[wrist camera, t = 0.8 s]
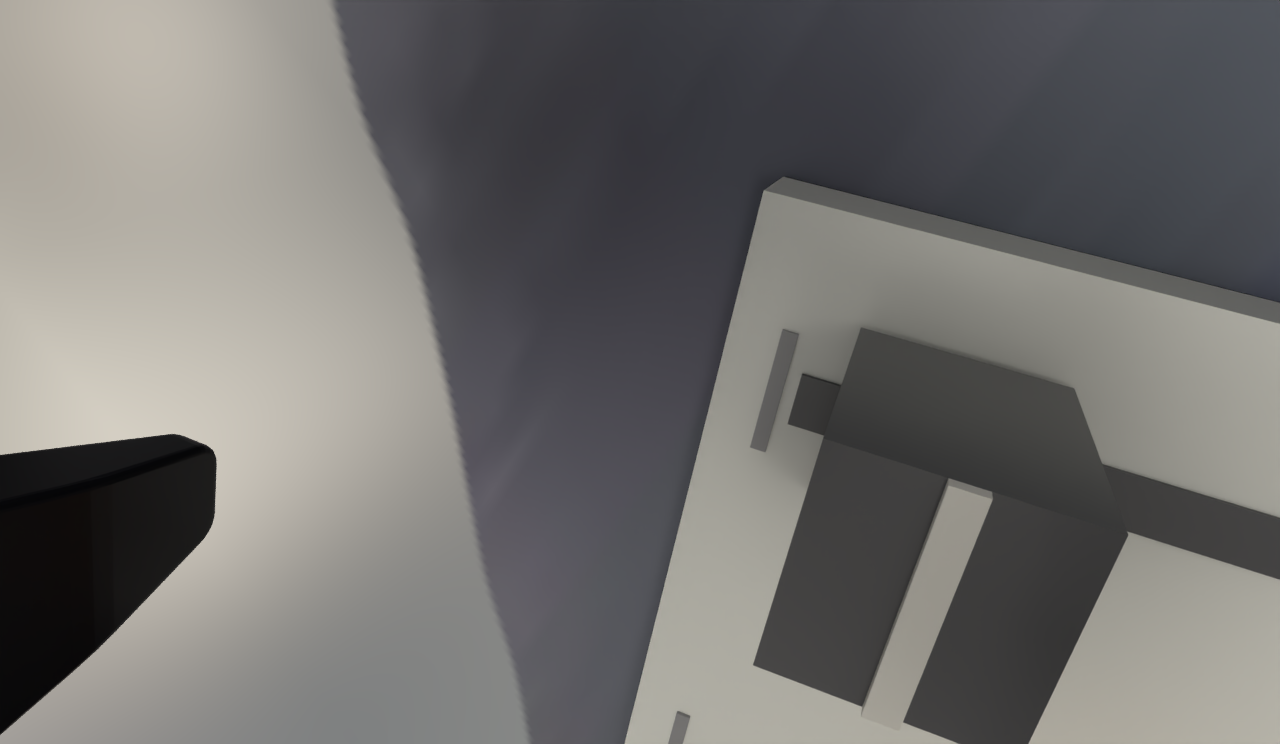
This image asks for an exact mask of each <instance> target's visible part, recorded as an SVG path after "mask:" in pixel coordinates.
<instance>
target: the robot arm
mask: <svg viewBox="0 0 1280 744" xmlns="http://www.w3.org/2000/svg"><path fill="white" fill-rule="evenodd" d="M215 489H216V457H215V454H214V452H213V450H212V449H211V448H209V447H208V446H207V445H204V444H202V443H199V442H197V441H194V440H192V439H189V438H187V437H185V436H181V435H176V434H168V435H160V436H152V437H144V438H136V439H127V440H119V441H111V442H104V443H95V444H86V445H80V446H79V445H78V446H70V447H62V448H54V449H46V450H38V451H30V452H21V453H13V454H5V455H0V735H1V734H2V733H3V732H4V731H5V730H6V729H7V728H9V727H10V726H11V725H12V724H13V723H14V722H16V721H17V720H18V719H19V718H20V717H21V716H23V715H24V714H25V713H26V712H27V711H28V710H29V709H31V708H32V707H33V706H34V705H35V704H36V703H37V702H39V701H40V700H41V699H42V698H43V697H44V696H46V695H47V694H48V693H49V692H50V691H51V690H52V689H54V688H55V687H56V686H57V685H58V684H59V683H60V682H62V681H63V680H64V679H65V678H66V677H67V676H69V675H70V674H71V673H72V672H73V671H74V670H75V669H76V668H77V667H79V666H80V665H81V664H82V663H83V662H84V661H85V660H86V659H87V658H88V657H90V656H91V655H92V654H93V653H94V652H95V651H96V650H97V649H98V648H99V647H100V646H101V645H102V644H103V643H104V642H105V641H106V640H107V639H108V638H109V637H110V636H111V635H112V634H113V633H114V632H115V631H116V630H117V629H118V628H119V627H120V626H121V625H122V624H123V623H124V622H125V621H126V620H127V619H128V618H129V617H130V616H131V615H132V613H134V611H135V610H136V609H137V608H138V607H139V606H140V605H141V604H142V603H143V602H144V601H145V600H146V599H147V598H148V597H149V596H150V595H151V594H152V593H153V592H154V591H155V590H156V589H157V587H158V586H159V585H160V584H161V583H162V582H163V581H164V580H165V579H166V578H167V577H168V576H169V575H170V574H171V573H172V572H173V571H174V570H175V568H177V567H178V565H179V564H180V563H181V562H182V561H183V560H184V559H185V558H186V557H187V556H188V555H189V554H190V553H191V552H192V551H193V550H194V549H195V548H196V546H198V545H199V544H200V542H201V541H202V540H203V539H204V538H205V536H206V535H207V533H208V532H209V530H210V528H211V525H212V523H213V519H214V514H215V491H216V490H215Z"/></svg>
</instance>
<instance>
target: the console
mask: <svg viewBox="0 0 1280 744" xmlns="http://www.w3.org/2000/svg"><path fill="white" fill-rule="evenodd" d="M861 327H862V328H865V329H869V330H872V331H876V332H879V333H883V334H886V335H890V336H893V337H897V338H900V339H904V340H907V341H911V342H914V343H918V344H921V345H925V346H928V347H932V348H935V349H939V350H942V351H946V352H949V353H953V354H956V355H960V356H963V357H967V358H970V359H974V360H977V361H981V362H984V363H988V364H991V365H995V366H998V367H1002V368H1005V369H1009V370H1012V371H1016V372H1019V373H1022V374H1026V375H1029V376H1033V377H1036V378H1040V379H1043V380H1047V381H1050V382H1054V383H1057V384H1061V385H1064V386H1068V387H1071V388H1074V389H1075V391H1076V394H1077V397H1078V399H1079V402H1080V405H1081V408H1082V410H1083V413H1084V416H1085V418H1086V421H1087V424H1088V427H1089V429H1090V432H1091V435H1092V437H1093V440H1094V443H1095V446H1096V448H1097V451H1098V454H1099V456H1100V459H1101V462H1102V465H1103V467H1104V470H1105V473H1106V475H1107V478H1108V481H1109V484H1110V486H1111V489H1112V492H1113V494H1114V497H1115V500H1116V503H1117V505H1118V508H1119V511H1120V513H1121V516H1122V519H1123V522H1124V524H1125V527H1126V530H1127V532H1128V537H1127V539H1126V541H1125V544H1124V546H1123V548H1122V550H1121V552H1120V554H1119V556H1118V558H1117V560H1116V562H1115V564H1114V566H1113V569H1112V571H1111V573H1110V575H1109V577H1108V579H1107V581H1106V583H1105V585H1104V587H1103V589H1102V591H1101V594H1100V596H1099V598H1098V600H1097V602H1096V604H1095V606H1094V608H1093V610H1092V612H1091V614H1090V616H1089V619H1088V621H1087V623H1086V625H1085V627H1084V629H1083V631H1082V633H1081V635H1080V637H1079V639H1078V642H1077V644H1076V646H1075V648H1074V650H1073V652H1072V654H1071V656H1070V658H1069V660H1068V662H1067V664H1066V667H1065V669H1064V671H1063V673H1062V675H1061V677H1060V679H1059V681H1058V683H1057V685H1056V687H1055V689H1054V692H1053V694H1052V696H1051V698H1050V700H1049V702H1048V704H1047V706H1046V708H1045V710H1044V712H1043V714H1042V717H1041V719H1040V721H1039V723H1038V725H1037V727H1036V729H1035V731H1034V733H1033V735H1032V737H1031V739H1030V742H1029V744H1280V303H1279V302H1275V301H1271V300H1267V299H1263V298H1259V297H1255V296H1251V295H1247V294H1243V293H1239V292H1235V291H1231V290H1227V289H1224V288H1220V287H1216V286H1212V285H1208V284H1204V283H1200V282H1196V281H1192V280H1188V279H1184V278H1180V277H1176V276H1172V275H1168V274H1164V273H1161V272H1157V271H1153V270H1149V269H1145V268H1141V267H1137V266H1133V265H1129V264H1125V263H1121V262H1117V261H1113V260H1109V259H1105V258H1102V257H1098V256H1094V255H1090V254H1086V253H1082V252H1078V251H1074V250H1070V249H1066V248H1062V247H1058V246H1054V245H1050V244H1046V243H1042V242H1039V241H1035V240H1031V239H1027V238H1023V237H1019V236H1015V235H1011V234H1007V233H1003V232H999V231H995V230H991V229H987V228H983V227H980V226H976V225H972V224H968V223H964V222H960V221H956V220H952V219H948V218H944V217H940V216H936V215H932V214H928V213H924V212H920V211H917V210H913V209H909V208H905V207H901V206H897V205H893V204H889V203H885V202H881V201H877V200H873V199H869V198H865V197H861V196H858V195H854V194H850V193H846V192H842V191H838V190H834V189H830V188H826V187H822V186H818V185H814V184H810V183H806V182H802V181H798V180H795V179H791V178H787V177H782V178H781V179H779V180H778V181H776V182H775V183H773V184H772V185H771V186H769V187H768V188H766V189H765V190H764V191H763V195H762V199H761V203H760V207H759V211H758V215H757V219H756V223H755V227H754V231H753V235H752V239H751V243H750V247H749V251H748V255H747V259H746V263H745V267H744V271H743V275H742V279H741V283H740V287H739V291H738V295H737V299H736V303H735V307H734V310H733V314H732V318H731V322H730V326H729V330H728V334H727V338H726V342H725V346H724V350H723V354H722V358H721V362H720V366H719V370H718V374H717V378H716V382H715V386H714V390H713V394H712V398H711V402H710V406H709V410H708V414H707V418H706V422H705V426H704V430H703V434H702V438H701V442H700V446H699V450H698V454H697V458H696V462H695V466H694V470H693V474H692V478H691V482H690V486H689V489H688V493H687V497H686V501H685V505H684V509H683V513H682V517H681V521H680V525H679V529H678V533H677V537H676V541H675V545H674V549H673V553H672V557H671V561H670V565H669V569H668V573H667V577H666V581H665V585H664V589H663V593H662V597H661V601H660V605H659V609H658V613H657V617H656V621H655V625H654V629H653V633H652V637H651V641H650V645H649V649H648V653H647V657H646V661H645V664H644V668H643V672H642V676H641V680H640V684H639V688H638V692H637V696H636V700H635V704H634V708H633V712H632V716H631V720H630V724H629V728H628V732H627V736H626V740H625V744H958V743H956V742H953V741H950V740H948V739H945V738H943V737H940V736H937V735H935V734H932V733H929V732H927V731H924V730H921V729H919V728H916V727H914V726H911V725H908V724H906V723H902V726H901V728H900V731H896V730H894V729H891V728H888V727H886V726H883V725H881V724H878V723H875V722H873V721H870V720H868V719H865V718H862V717H861V711H862V707H861V706H858V705H856V704H853V703H851V702H848V701H845V700H843V699H840V698H837V697H835V696H832V695H830V694H827V693H824V692H822V691H819V690H816V689H814V688H811V687H808V686H806V685H803V684H801V683H798V682H795V681H793V680H790V679H787V678H785V677H782V676H780V675H777V674H774V673H772V672H769V671H766V670H764V669H761V668H759V667H756V666H753V663H754V660H755V656H756V653H757V650H758V647H759V644H760V640H761V637H762V634H763V631H764V627H765V624H766V621H767V618H768V615H769V611H770V608H771V605H772V602H773V598H774V595H775V592H776V589H777V586H778V582H779V579H780V576H781V573H782V569H783V566H784V563H785V560H786V557H787V553H788V550H789V547H790V544H791V540H792V537H793V534H794V531H795V527H796V524H797V521H798V518H799V515H800V511H801V508H802V505H803V502H804V498H805V495H806V492H807V489H808V486H809V482H810V479H811V476H812V473H813V469H814V466H815V463H816V460H817V457H818V453H819V450H820V447H821V444H822V440H823V437H824V434H825V431H826V429H827V426H828V423H829V420H830V417H831V414H832V411H833V408H834V405H835V402H836V399H837V396H838V393H839V390H840V387H841V385H842V382H843V379H844V376H845V373H846V370H847V367H848V364H849V361H850V358H851V355H852V352H853V349H854V346H855V343H856V341H857V338H858V335H859V332H860V329H861Z"/></svg>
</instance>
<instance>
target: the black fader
mask: <svg viewBox="0 0 1280 744" xmlns="http://www.w3.org/2000/svg"><path fill="white" fill-rule="evenodd" d="M1127 537H1128V532H1127V530H1126V527H1125V524H1124V522H1123V519H1122V516H1121V513H1120V511H1119V508H1118V505H1117V503H1116V500H1115V497H1114V494H1113V492H1112V489H1111V486H1110V484H1109V481H1108V478H1107V475H1106V473H1105V470H1104V467H1103V465H1102V462H1101V459H1100V456H1099V454H1098V451H1097V448H1096V446H1095V443H1094V440H1093V437H1092V435H1091V432H1090V429H1089V427H1088V424H1087V421H1086V418H1085V416H1084V413H1083V410H1082V408H1081V405H1080V402H1079V399H1078V397H1077V394H1076V391H1075V389H1074V388H1071V387H1068V386H1064V385H1061V384H1057V383H1054V382H1050V381H1047V380H1043V379H1040V378H1036V377H1033V376H1029V375H1026V374H1022V373H1019V372H1016V371H1012V370H1009V369H1005V368H1002V367H998V366H995V365H991V364H988V363H984V362H981V361H977V360H974V359H970V358H967V357H963V356H960V355H956V354H953V353H949V352H946V351H942V350H939V349H935V348H932V347H928V346H925V345H921V344H918V343H914V342H911V341H907V340H904V339H900V338H897V337H893V336H890V335H886V334H883V333H879V332H876V331H872V330H869V329H865V328H862V327H861V329H860V332H859V335H858V338H857V341H856V343H855V346H854V349H853V352H852V355H851V358H850V361H849V364H848V367H847V370H846V373H845V376H844V379H843V382H842V385H841V387H840V390H839V393H838V396H837V399H836V402H835V405H834V408H833V411H832V414H831V417H830V420H829V423H828V426H827V429H826V431H825V434H824V437H823V440H822V444H821V447H820V450H819V453H818V457H817V460H816V463H815V466H814V469H813V473H812V476H811V479H810V482H809V486H808V489H807V492H806V495H805V498H804V502H803V505H802V508H801V511H800V515H799V518H798V521H797V524H796V527H795V531H794V534H793V537H792V540H791V544H790V547H789V550H788V553H787V557H786V560H785V563H784V566H783V569H782V573H781V576H780V579H779V582H778V586H777V589H776V592H775V595H774V598H773V602H772V605H771V608H770V611H769V615H768V618H767V621H766V624H765V627H764V631H763V634H762V637H761V640H760V644H759V647H758V650H757V653H756V656H755V660H754V663H753V666H756V667H759V668H761V669H764V670H766V671H769V672H772V673H774V674H777V675H780V676H782V677H785V678H787V679H790V680H793V681H795V682H798V683H801V684H803V685H806V686H808V687H811V688H814V689H816V690H819V691H822V692H824V693H827V694H830V695H832V696H835V697H837V698H840V699H843V700H845V701H848V702H851V703H853V704H856V705H858V706H861V707H862V711H861V717H862V718H865V719H868V720H870V721H873V722H875V723H878V724H881V725H883V726H886V727H888V728H891V729H894V730H896V731H900V728H901V726H902V723H906V724H908V725H911V726H914V727H916V728H919V729H921V730H924V731H927V732H929V733H932V734H935V735H937V736H940V737H943V738H945V739H948V740H950V741H953V742H956V743H958V744H1029V742H1030V739H1031V737H1032V735H1033V733H1034V731H1035V729H1036V727H1037V725H1038V723H1039V721H1040V719H1041V717H1042V714H1043V712H1044V710H1045V708H1046V706H1047V704H1048V702H1049V700H1050V698H1051V696H1052V694H1053V692H1054V689H1055V687H1056V685H1057V683H1058V681H1059V679H1060V677H1061V675H1062V673H1063V671H1064V669H1065V667H1066V664H1067V662H1068V660H1069V658H1070V656H1071V654H1072V652H1073V650H1074V648H1075V646H1076V644H1077V642H1078V639H1079V637H1080V635H1081V633H1082V631H1083V629H1084V627H1085V625H1086V623H1087V621H1088V619H1089V616H1090V614H1091V612H1092V610H1093V608H1094V606H1095V604H1096V602H1097V600H1098V598H1099V596H1100V594H1101V591H1102V589H1103V587H1104V585H1105V583H1106V581H1107V579H1108V577H1109V575H1110V573H1111V571H1112V569H1113V566H1114V564H1115V562H1116V560H1117V558H1118V556H1119V554H1120V552H1121V550H1122V548H1123V546H1124V544H1125V541H1126V539H1127Z"/></svg>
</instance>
